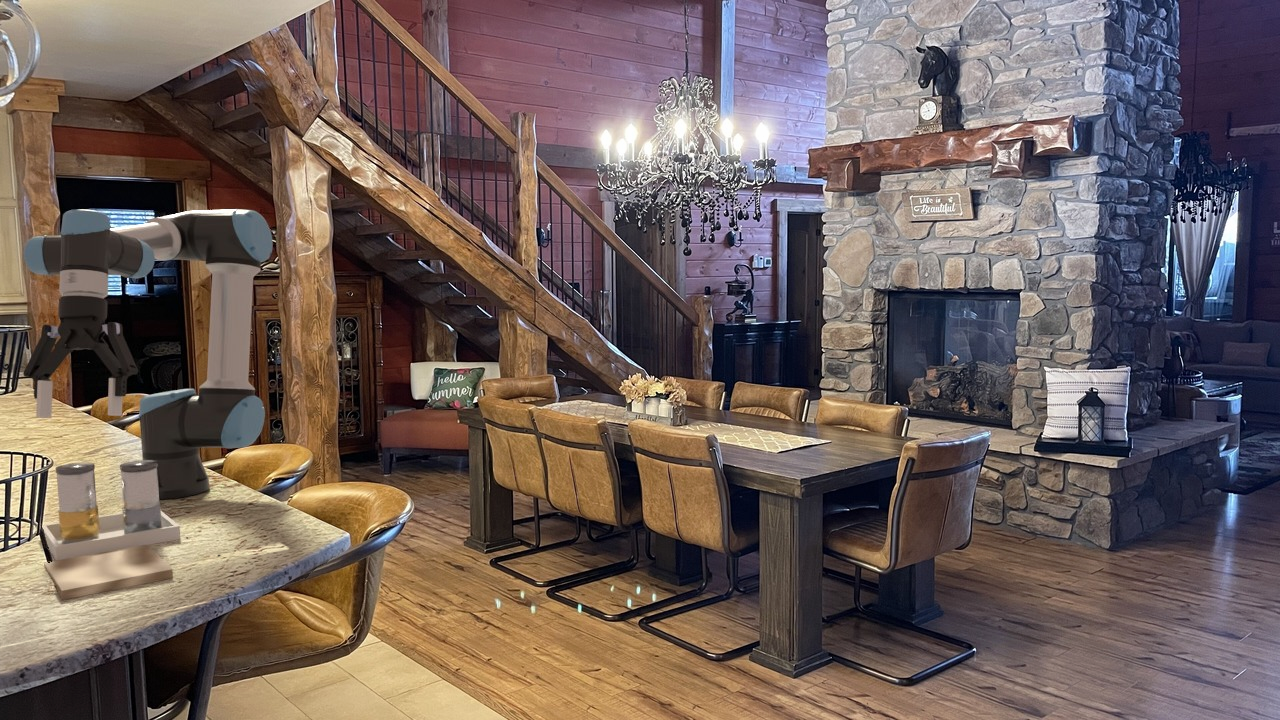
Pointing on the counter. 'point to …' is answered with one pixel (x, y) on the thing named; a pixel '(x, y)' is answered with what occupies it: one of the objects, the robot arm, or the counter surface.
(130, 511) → the clear grey lidded jar
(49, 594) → the counter surface
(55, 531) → the white shaker tray
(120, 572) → the board
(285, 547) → the counter surface
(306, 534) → the counter surface
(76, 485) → the lidded honey jar
